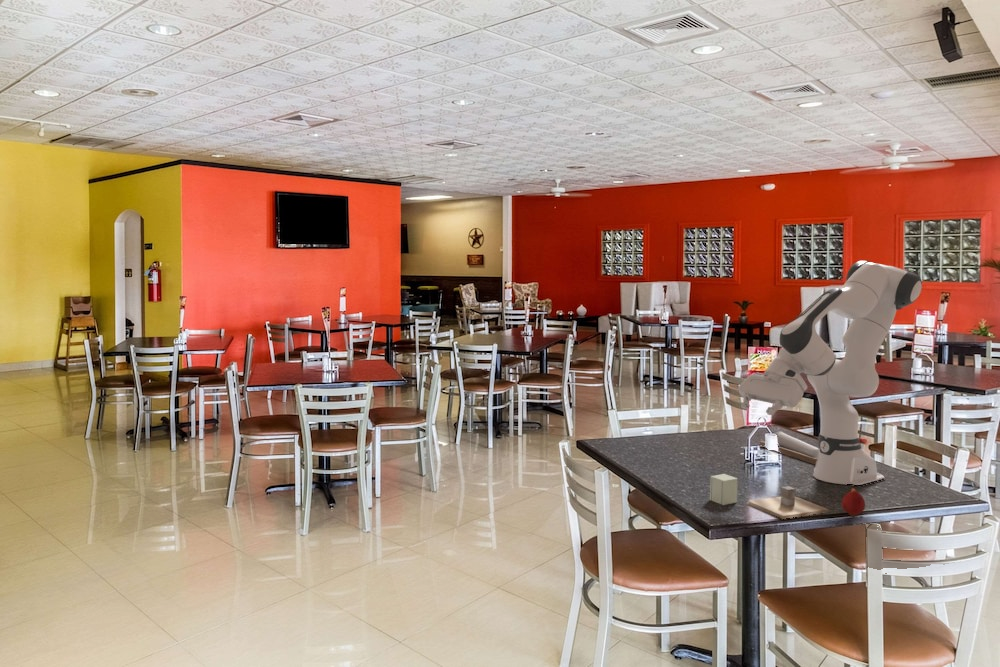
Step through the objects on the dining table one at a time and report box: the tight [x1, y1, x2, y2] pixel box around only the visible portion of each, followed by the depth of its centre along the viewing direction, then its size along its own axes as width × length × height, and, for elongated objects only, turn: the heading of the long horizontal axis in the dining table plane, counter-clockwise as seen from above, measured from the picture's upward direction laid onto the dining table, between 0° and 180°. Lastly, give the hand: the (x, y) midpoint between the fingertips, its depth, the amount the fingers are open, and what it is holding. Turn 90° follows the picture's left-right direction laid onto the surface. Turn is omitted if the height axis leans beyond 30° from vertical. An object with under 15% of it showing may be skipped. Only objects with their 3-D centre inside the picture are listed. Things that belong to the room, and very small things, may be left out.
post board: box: [747, 486, 829, 520], centre depth 213 cm, size 16×14×6 cm
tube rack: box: [759, 440, 817, 465], centre depth 275 cm, size 11×28×2 cm, turn 22°
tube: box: [775, 431, 819, 458], centre depth 275 cm, size 5×5×25 cm
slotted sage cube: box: [709, 473, 739, 506], centre depth 219 cm, size 5×5×7 cm
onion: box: [841, 488, 866, 518], centre depth 206 cm, size 6×6×8 cm
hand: (756, 410), depth 223 cm, fingers open, 8 cm apart
